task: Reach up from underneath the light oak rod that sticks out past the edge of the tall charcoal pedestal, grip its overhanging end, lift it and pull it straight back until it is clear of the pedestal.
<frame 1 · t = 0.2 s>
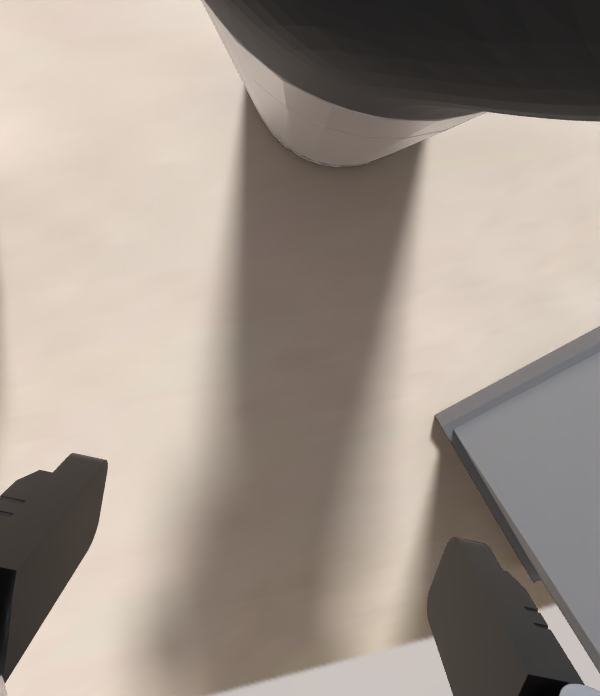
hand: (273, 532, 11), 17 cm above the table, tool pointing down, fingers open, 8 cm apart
charcoal pedestal: (592, 438, 30), on the table
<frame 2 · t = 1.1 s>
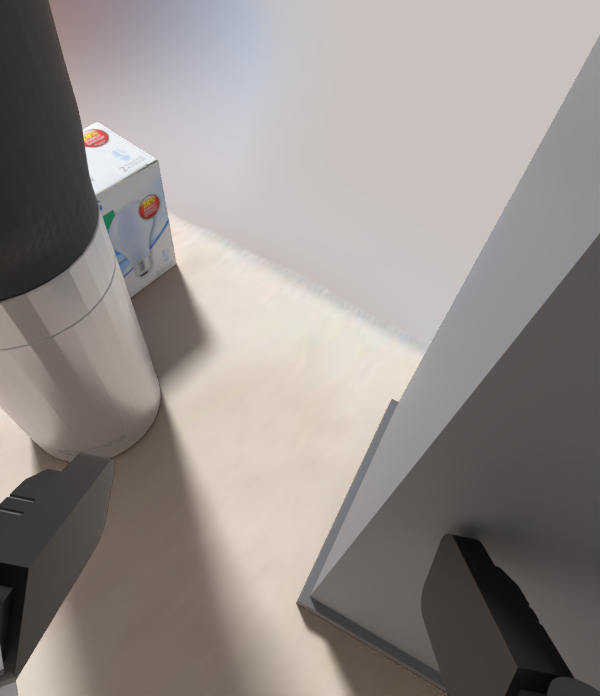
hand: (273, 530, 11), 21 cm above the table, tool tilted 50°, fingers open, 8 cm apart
light bulb box: (108, 278, 42), on the table
charcoal pedestal: (436, 541, 32), on the table
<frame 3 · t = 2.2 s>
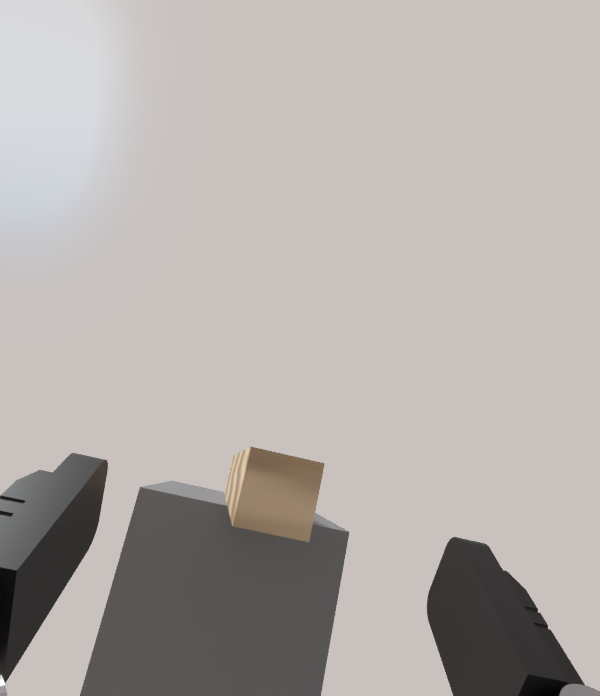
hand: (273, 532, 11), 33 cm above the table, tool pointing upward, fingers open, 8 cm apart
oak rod: (251, 508, 29), point 32 cm above the table, touching charcoal pedestal
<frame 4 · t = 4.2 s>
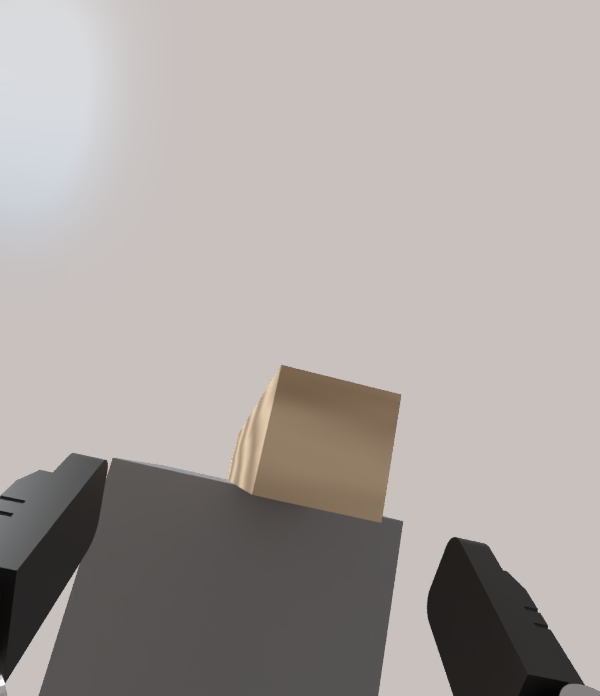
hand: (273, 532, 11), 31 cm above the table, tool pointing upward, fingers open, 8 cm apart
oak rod: (266, 490, 21), point 32 cm above the table, touching charcoal pedestal
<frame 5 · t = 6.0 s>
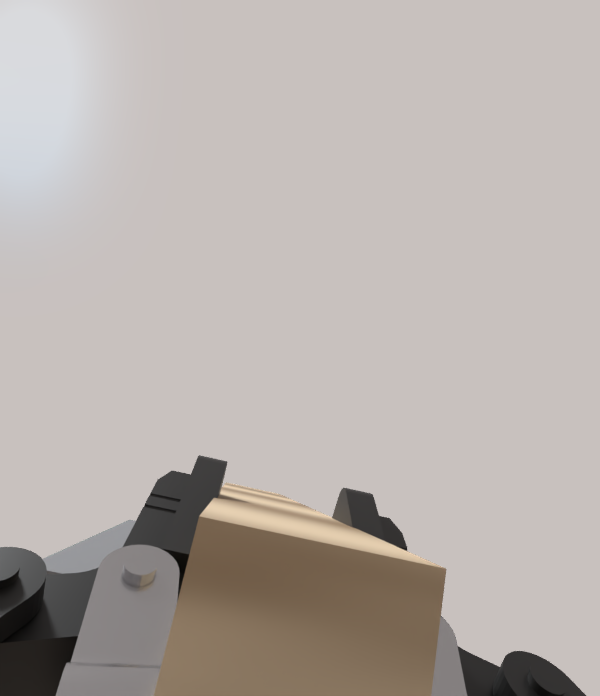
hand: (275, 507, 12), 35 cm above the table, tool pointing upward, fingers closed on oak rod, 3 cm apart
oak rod: (244, 594, 15), point 32 cm above the table, touching charcoal pedestal, gripper
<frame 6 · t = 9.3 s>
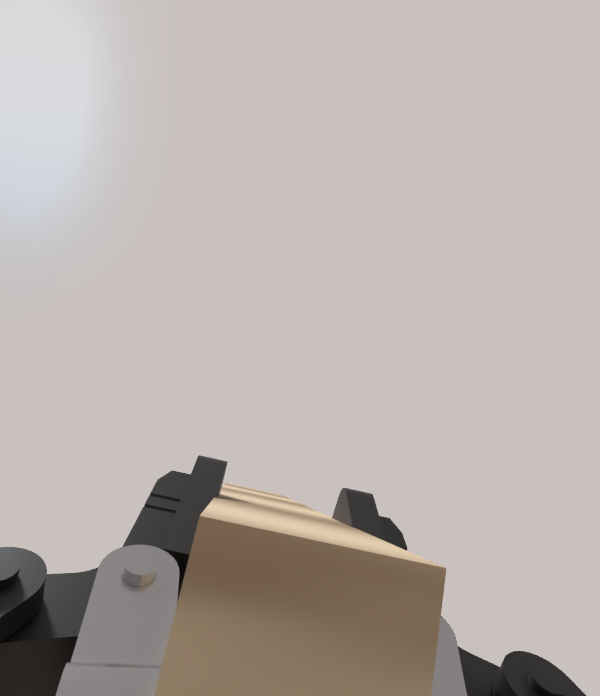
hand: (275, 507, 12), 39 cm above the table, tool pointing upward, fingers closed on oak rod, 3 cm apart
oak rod: (244, 594, 15), point 36 cm above the table, touching gripper
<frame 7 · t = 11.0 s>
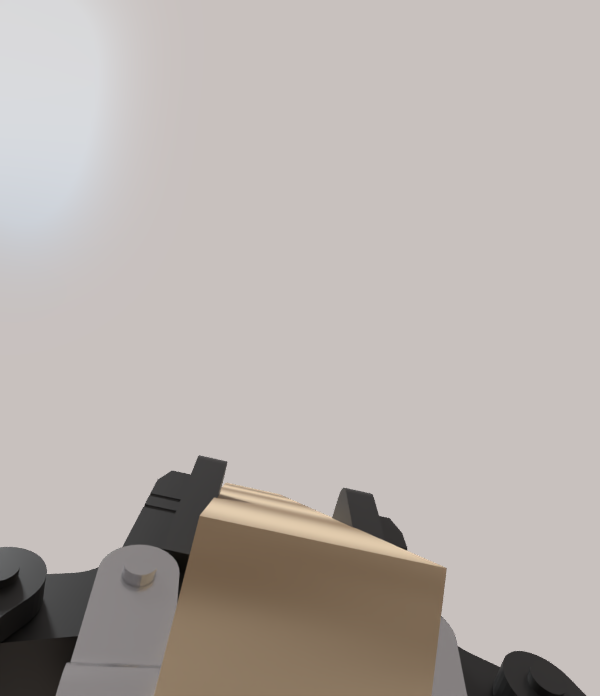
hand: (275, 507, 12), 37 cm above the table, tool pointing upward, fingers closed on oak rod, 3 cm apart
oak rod: (244, 594, 15), point 34 cm above the table, touching gripper
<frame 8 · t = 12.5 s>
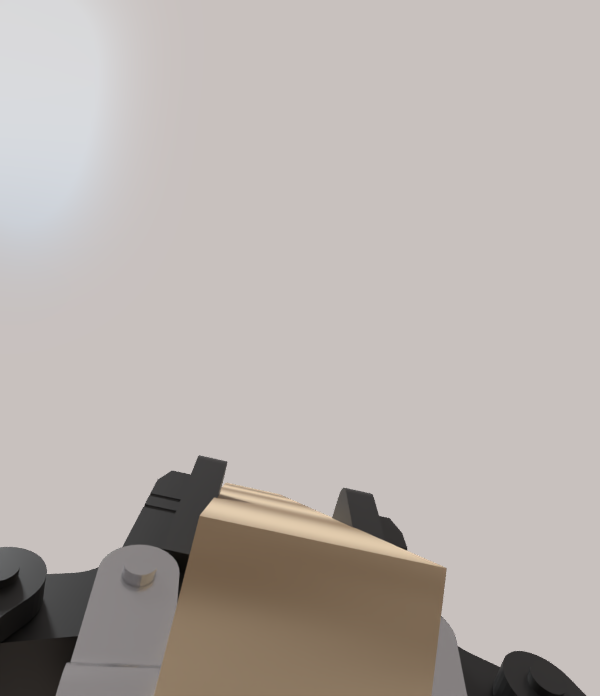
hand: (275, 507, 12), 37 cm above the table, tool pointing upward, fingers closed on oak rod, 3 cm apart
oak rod: (244, 594, 15), point 34 cm above the table, touching gripper
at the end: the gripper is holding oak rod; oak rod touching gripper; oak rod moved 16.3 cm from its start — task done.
